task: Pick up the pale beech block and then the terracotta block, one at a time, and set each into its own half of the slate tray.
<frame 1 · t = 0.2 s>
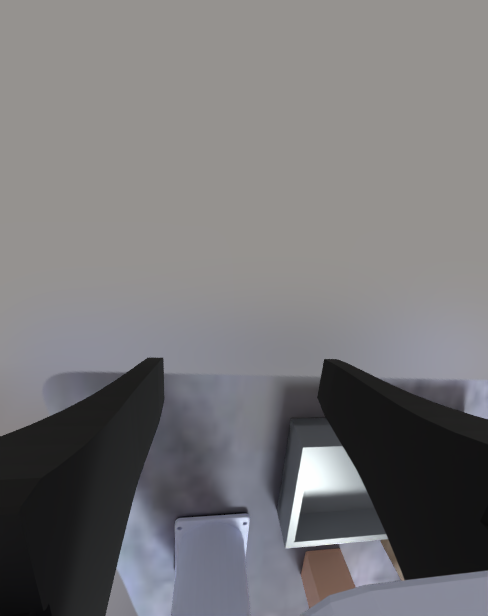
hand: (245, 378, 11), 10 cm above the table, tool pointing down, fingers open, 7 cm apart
slate tray: (368, 463, 27), on the table
terracotta block: (320, 561, 31), on the table
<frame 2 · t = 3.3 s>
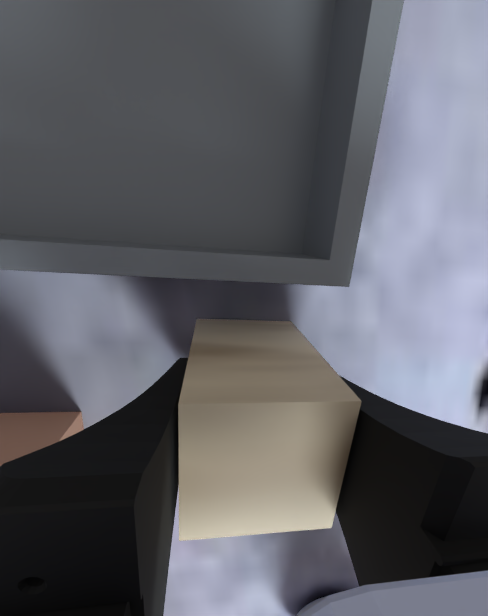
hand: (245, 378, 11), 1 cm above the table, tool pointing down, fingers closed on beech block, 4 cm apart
slate tray: (57, 68, 8), on the table
beech block: (241, 362, 12), on the table, touching gripper
plastic bottle: (324, 601, 19), on the table
terracotta block: (38, 449, 12), on the table
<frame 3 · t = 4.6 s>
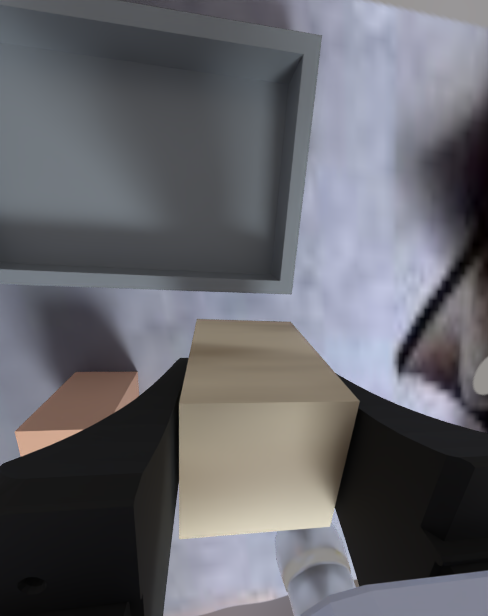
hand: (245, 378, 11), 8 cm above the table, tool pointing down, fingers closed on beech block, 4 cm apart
slate tray: (136, 179, 15), on the table
beech block: (241, 362, 12), point 7 cm above the table, touching gripper
plastic bottle: (300, 519, 26), on the table
terracotta block: (109, 396, 20), on the table
when the fingers open (5 cm above the table, at t = 6.2 s): beech block drops 2 cm, resting on slate tray.
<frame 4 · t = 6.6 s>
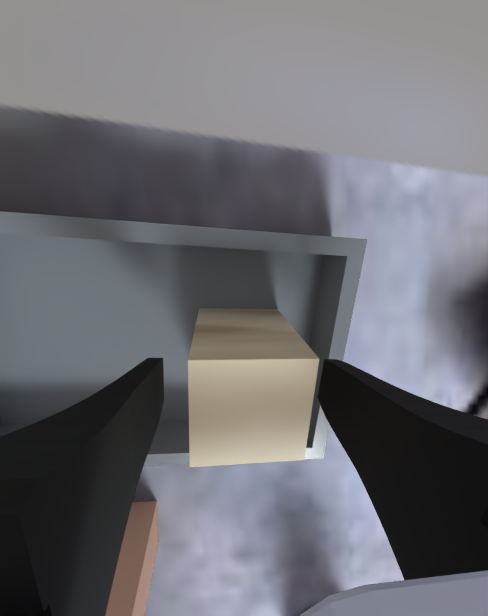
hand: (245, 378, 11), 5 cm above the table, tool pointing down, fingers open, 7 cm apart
slate tray: (162, 333, 15), on the table
beech block: (237, 344, 15), point 1 cm above the table, touching slate tray
terracotta block: (127, 523, 19), on the table
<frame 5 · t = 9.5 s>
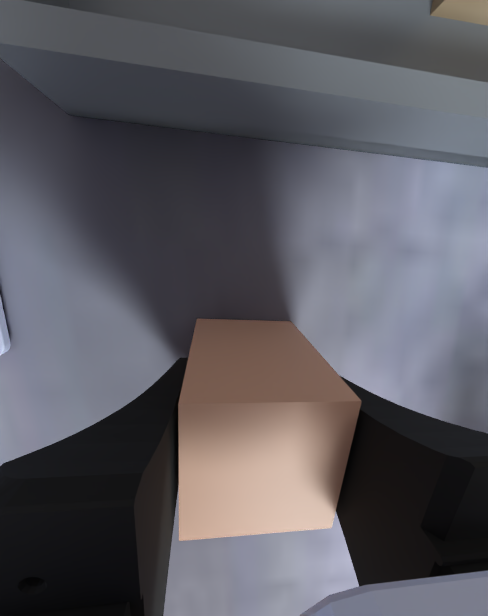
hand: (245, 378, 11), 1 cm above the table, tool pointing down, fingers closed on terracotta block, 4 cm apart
terracotta block: (241, 362, 12), on the table, touching gripper
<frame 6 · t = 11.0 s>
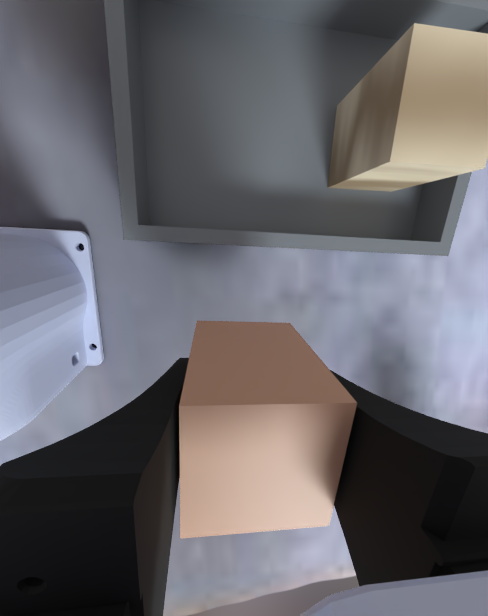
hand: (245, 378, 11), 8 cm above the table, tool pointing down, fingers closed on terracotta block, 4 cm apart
slate tray: (292, 146, 16), on the table
beech block: (365, 151, 16), point 1 cm above the table, touching slate tray
terracotta block: (241, 363, 12), point 7 cm above the table, touching gripper
when the fingers open (5 cm above the table, at t = 12.8 s): terracotta block drops 2 cm, resting on slate tray.
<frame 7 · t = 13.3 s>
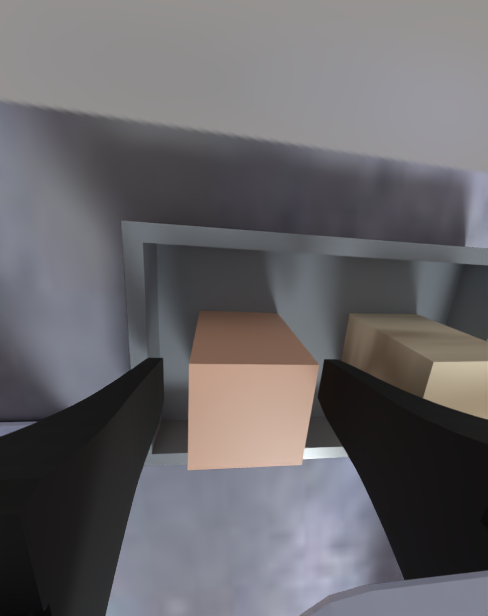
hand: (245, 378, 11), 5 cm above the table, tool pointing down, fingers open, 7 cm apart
slate tray: (304, 336, 16), on the table
beech block: (376, 347, 16), point 1 cm above the table, touching slate tray
terracotta block: (237, 347, 15), point 1 cm above the table, touching slate tray
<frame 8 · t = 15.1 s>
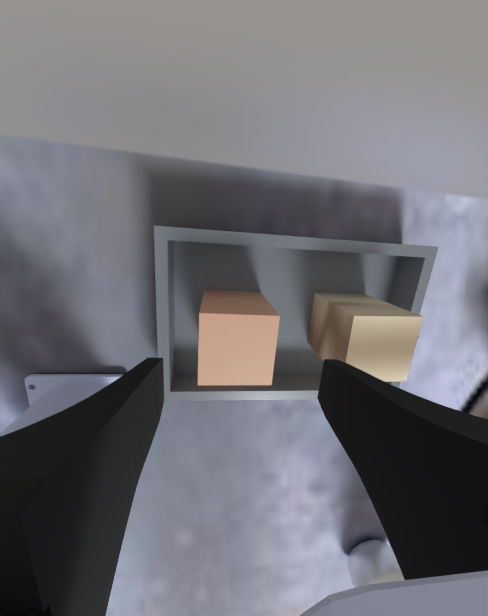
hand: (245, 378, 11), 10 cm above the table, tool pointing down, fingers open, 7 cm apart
slate tray: (282, 311, 21), on the table
beech block: (336, 319, 21), point 1 cm above the table, touching slate tray
plastic bottle: (365, 546, 32), on the table
terracotta block: (231, 318, 20), point 1 cm above the table, touching slate tray
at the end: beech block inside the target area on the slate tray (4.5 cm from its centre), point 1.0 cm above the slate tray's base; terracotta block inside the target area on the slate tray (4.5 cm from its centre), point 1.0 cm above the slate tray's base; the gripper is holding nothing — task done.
